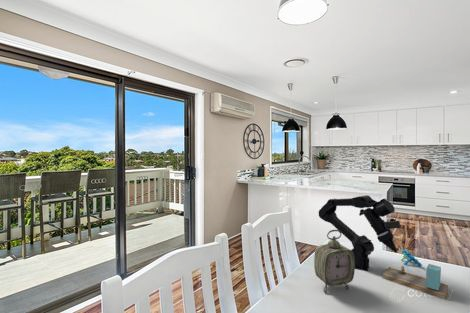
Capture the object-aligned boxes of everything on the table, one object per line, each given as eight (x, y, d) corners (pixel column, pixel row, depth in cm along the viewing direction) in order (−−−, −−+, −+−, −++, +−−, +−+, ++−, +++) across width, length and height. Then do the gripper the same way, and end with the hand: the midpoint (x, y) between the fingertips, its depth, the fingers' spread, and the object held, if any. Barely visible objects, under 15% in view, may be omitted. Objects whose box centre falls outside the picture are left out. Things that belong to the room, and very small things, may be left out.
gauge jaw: (425, 286, 103) (426, 267, 103) (429, 280, 108) (429, 261, 108) (438, 290, 100) (439, 271, 100) (441, 283, 106) (441, 265, 105)
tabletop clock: (324, 296, 100) (325, 234, 99) (311, 284, 109) (312, 227, 108) (354, 290, 104) (356, 231, 103) (339, 279, 113) (341, 224, 112)
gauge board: (382, 278, 114) (382, 267, 114) (389, 270, 121) (389, 260, 121) (445, 299, 99) (445, 287, 98) (448, 289, 106) (448, 278, 105)
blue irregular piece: (427, 267, 122) (410, 251, 123) (418, 275, 122) (401, 259, 124) (414, 260, 133) (399, 245, 134) (406, 268, 133) (391, 253, 135)
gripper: (392, 213, 108) (417, 248, 102) (390, 211, 124) (412, 241, 118) (368, 224, 112) (390, 259, 106) (369, 221, 128) (389, 251, 122)
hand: (396, 252), depth 113 cm, fingers closed
